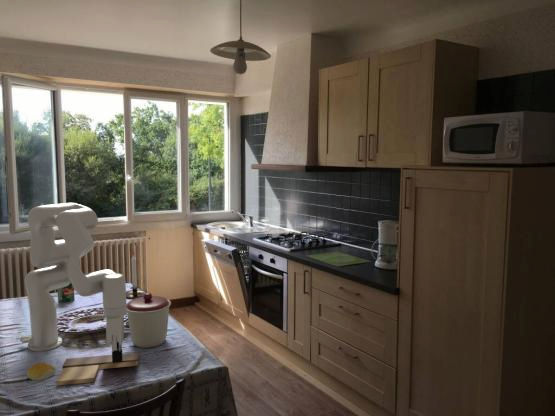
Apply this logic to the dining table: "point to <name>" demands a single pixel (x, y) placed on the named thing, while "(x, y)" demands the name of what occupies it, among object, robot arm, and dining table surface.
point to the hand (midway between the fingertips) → (117, 361)
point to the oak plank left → (77, 375)
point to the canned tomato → (66, 294)
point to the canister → (148, 320)
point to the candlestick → (134, 285)
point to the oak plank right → (118, 365)
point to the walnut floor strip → (98, 360)
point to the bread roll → (40, 371)
